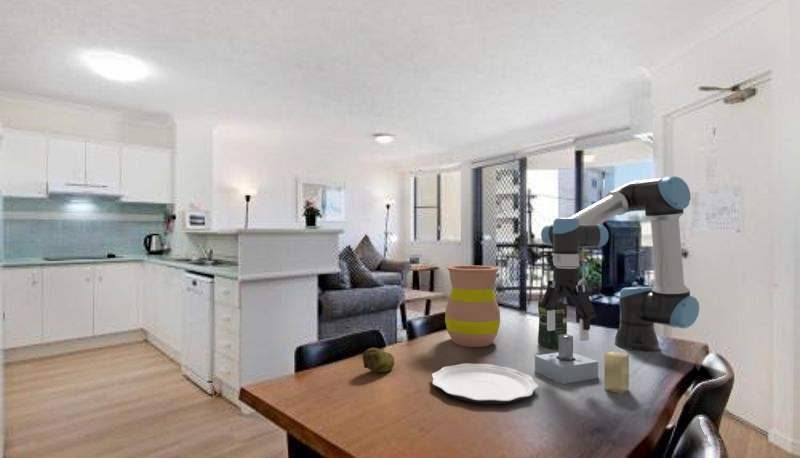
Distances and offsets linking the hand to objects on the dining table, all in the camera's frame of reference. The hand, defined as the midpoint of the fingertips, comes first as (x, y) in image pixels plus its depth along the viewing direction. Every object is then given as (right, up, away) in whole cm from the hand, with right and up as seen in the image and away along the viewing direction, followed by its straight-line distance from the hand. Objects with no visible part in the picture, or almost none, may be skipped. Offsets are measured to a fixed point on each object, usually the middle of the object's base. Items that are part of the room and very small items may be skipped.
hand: (566, 335), depth 131 cm
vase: (-23, -13, +38) cm, 46 cm away
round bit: (-1, -12, 0) cm, 12 cm away
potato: (-59, -12, +1) cm, 60 cm away
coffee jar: (+7, -13, +32) cm, 35 cm away
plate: (-28, -13, -11) cm, 33 cm away
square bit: (+9, -12, -13) cm, 20 cm away
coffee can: (+15, -13, +52) cm, 56 cm away
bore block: (0, -12, 0) cm, 12 cm away
